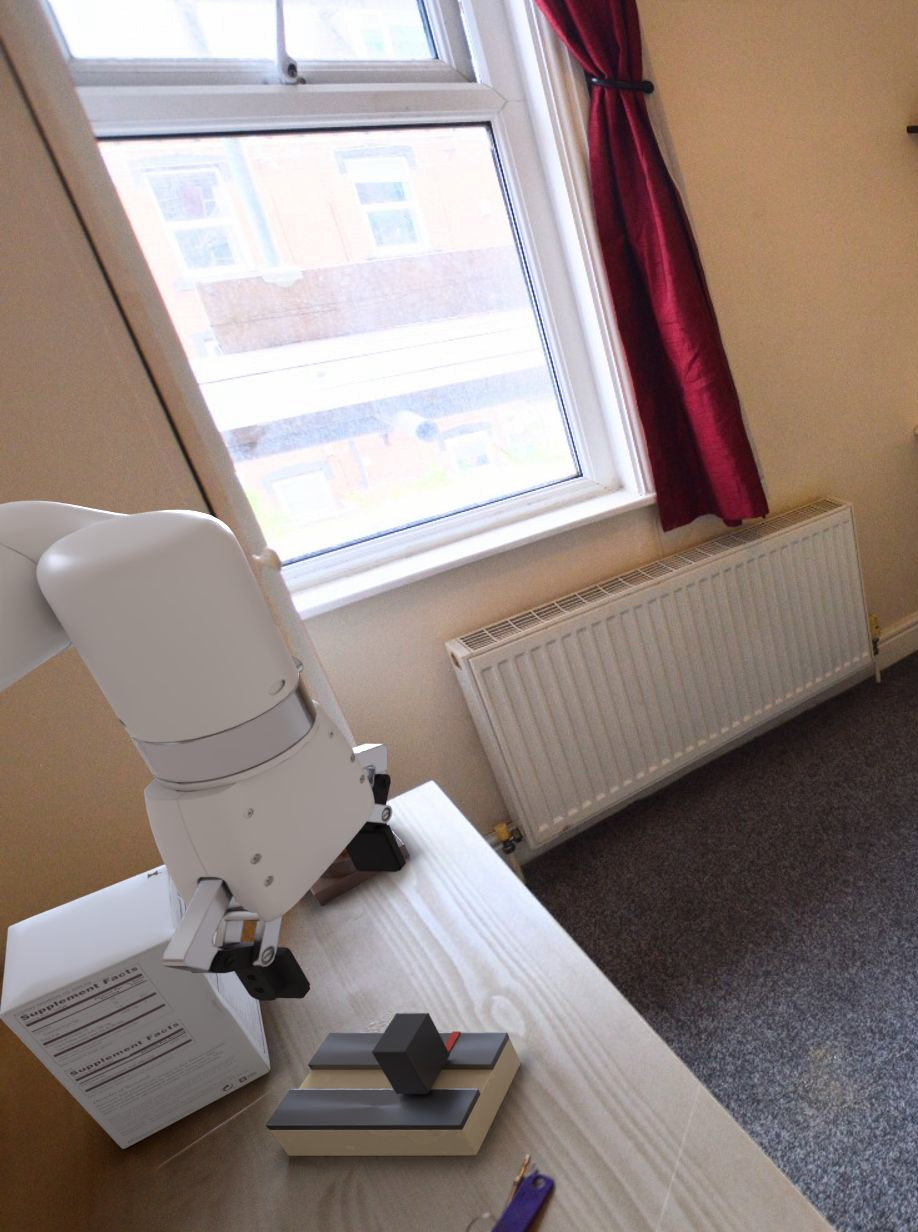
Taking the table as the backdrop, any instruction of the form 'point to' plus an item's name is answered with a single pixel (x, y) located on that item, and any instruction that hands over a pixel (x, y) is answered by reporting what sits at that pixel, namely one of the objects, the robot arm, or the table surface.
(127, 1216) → the table surface
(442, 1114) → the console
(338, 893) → the button block
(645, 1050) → the table surface
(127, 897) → the supplement box
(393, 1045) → the slider
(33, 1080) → the table surface
